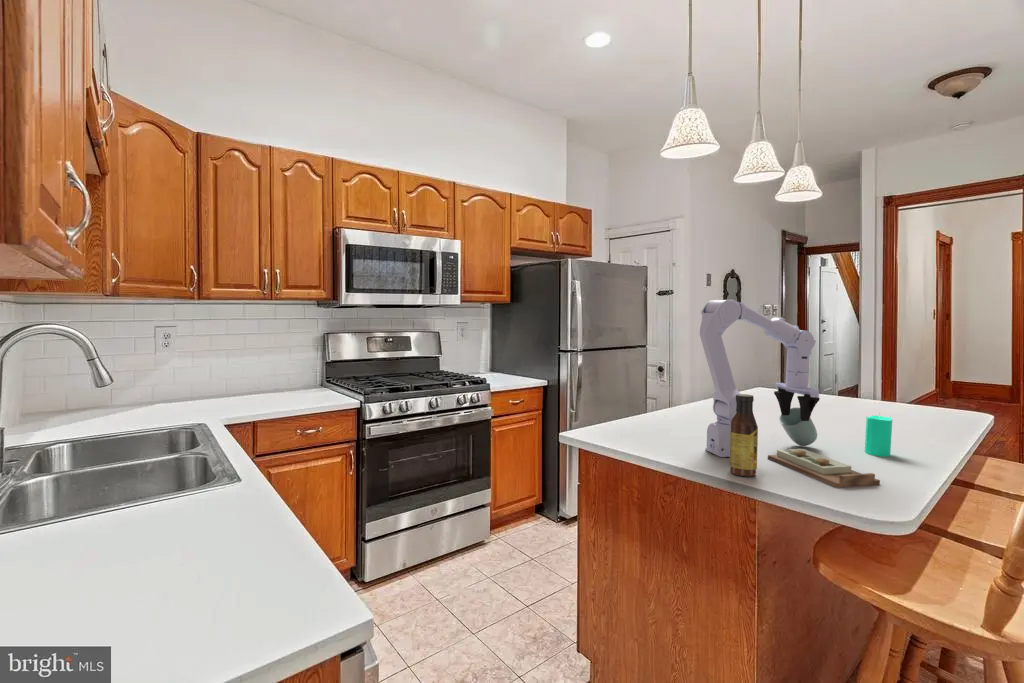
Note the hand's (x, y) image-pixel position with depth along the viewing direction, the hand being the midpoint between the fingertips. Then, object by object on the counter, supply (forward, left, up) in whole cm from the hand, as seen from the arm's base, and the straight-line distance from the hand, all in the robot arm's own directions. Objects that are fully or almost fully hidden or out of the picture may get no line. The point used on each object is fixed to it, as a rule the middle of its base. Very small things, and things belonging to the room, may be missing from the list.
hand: (794, 417), depth 146 cm
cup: (+8, +4, -8) cm, 12 cm away
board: (-7, -17, -10) cm, 21 cm away
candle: (+22, -6, -10) cm, 25 cm away
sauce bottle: (-28, -15, -10) cm, 33 cm away
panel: (-7, -14, -9) cm, 18 cm away
